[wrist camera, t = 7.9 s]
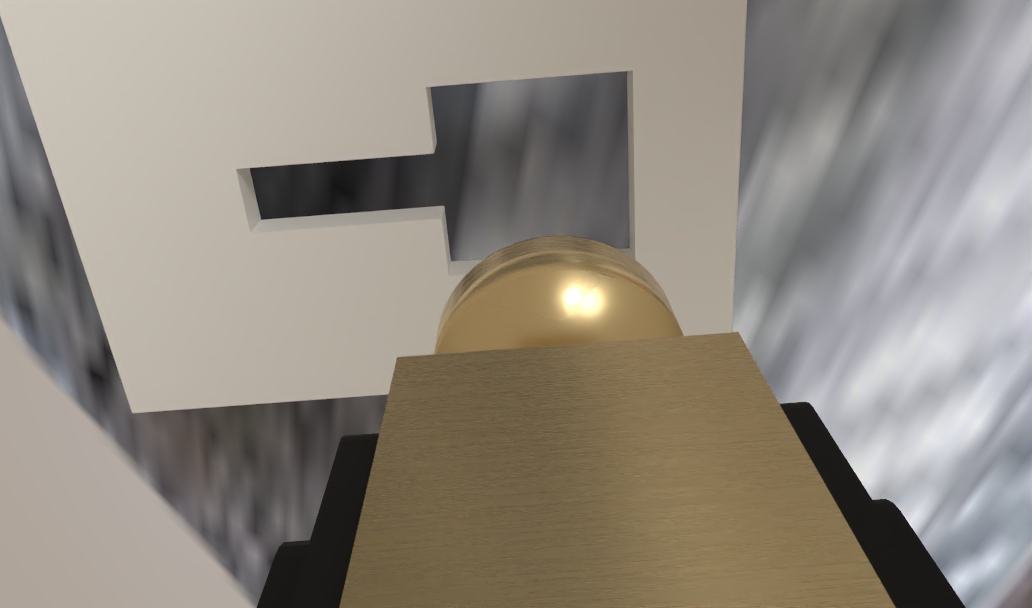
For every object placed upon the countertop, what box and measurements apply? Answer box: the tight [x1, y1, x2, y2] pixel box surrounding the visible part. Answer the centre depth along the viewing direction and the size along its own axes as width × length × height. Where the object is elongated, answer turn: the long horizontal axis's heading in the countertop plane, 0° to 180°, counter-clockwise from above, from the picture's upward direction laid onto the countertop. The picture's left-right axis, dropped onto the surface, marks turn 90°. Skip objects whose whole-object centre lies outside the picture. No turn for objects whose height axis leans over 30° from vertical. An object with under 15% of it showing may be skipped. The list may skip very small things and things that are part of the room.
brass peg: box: [339, 236, 896, 608], centre depth 10 cm, size 4×4×11 cm
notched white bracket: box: [0, 0, 747, 413], centre depth 27 cm, size 20×14×7 cm
